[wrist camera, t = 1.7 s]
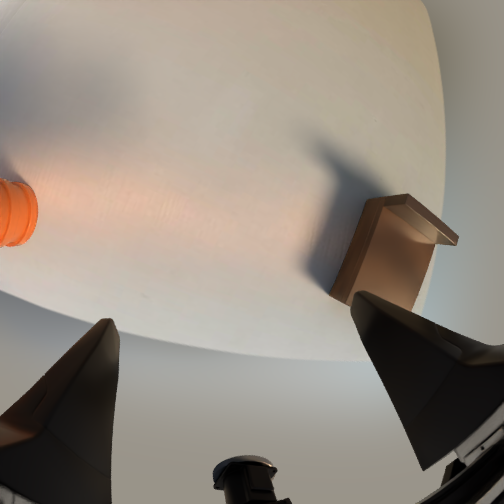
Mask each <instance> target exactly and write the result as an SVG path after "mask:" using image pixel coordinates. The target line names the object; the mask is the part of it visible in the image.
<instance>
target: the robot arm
mask: <svg viewBox="0 0 504 504" xmlns="http://www.w3.org/2000/svg"><path fill="white" fill-rule="evenodd" d="M350 312H351V316H352V318H353V321H354V323H355V325H356V328H357V330H358V333H359V335H360V338H361V341H362V343H363V345H364V347H365V349H366V351H367V353H368V355H369V357H370V359H371V361H372V363H373V365H374V367H375V369H376V371H377V372H378V374H379V377H380V378H381V381H382V382H383V385H384V386H385V389H386V391H387V393H388V395H389V397H390V399H391V401H392V403H393V405H394V407H395V409H396V412H397V414H398V416H399V418H400V420H401V422H402V424H403V427H404V429H405V431H406V434H407V436H408V438H409V440H410V443H411V445H412V447H413V450H414V452H415V454H416V457H417V459H418V461H419V464H420V466H421V468H422V470H423V471H425V470H426V469H428V468H430V467H431V466H433V465H434V464H436V463H437V462H438V461H440V460H442V459H443V458H444V457H446V456H447V455H449V454H450V453H451V452H452V451H455V453H456V454H457V456H458V458H457V459H455V460H454V461H453V462H451V463H450V464H449V465H447V466H446V469H445V473H444V476H443V480H442V483H441V487H440V488H439V489H437V490H436V491H434V492H433V493H431V494H430V495H428V496H427V497H425V498H424V499H422V500H421V501H419V502H417V503H416V504H504V344H503V345H497V346H491V345H486V344H484V343H481V342H479V341H476V340H473V339H471V338H468V337H466V336H463V335H461V334H458V333H456V332H453V331H451V330H449V329H447V328H445V327H442V326H440V325H438V324H435V323H434V322H432V321H430V320H428V319H425V318H423V317H421V316H419V315H417V314H415V313H413V312H411V311H408V310H406V309H404V308H402V307H400V306H398V305H396V304H393V303H391V302H389V301H387V300H385V299H383V298H381V297H378V296H376V295H374V294H372V293H370V292H368V291H365V290H362V291H357V292H355V293H354V296H353V300H352V304H351V308H350ZM119 348H120V337H119V334H118V331H117V329H116V326H115V324H114V321H113V320H112V319H111V318H104V319H101V320H99V321H98V322H97V323H96V324H95V325H94V326H93V327H92V328H91V329H90V330H89V331H88V332H87V333H86V334H85V335H84V336H83V337H82V338H80V340H78V342H76V343H75V344H74V345H73V346H72V347H71V348H70V349H69V350H68V351H67V352H66V353H65V354H64V355H63V356H62V357H61V358H60V359H59V360H58V361H57V362H56V363H55V364H54V365H53V366H52V367H51V368H50V369H49V370H48V371H47V372H46V373H45V376H42V377H41V378H40V380H39V381H38V382H37V383H36V384H35V385H34V386H33V387H32V388H31V389H30V390H28V391H27V392H26V394H24V395H23V396H22V397H21V398H20V399H19V400H18V401H17V402H15V403H14V404H13V405H12V406H11V407H10V408H9V409H8V410H6V411H5V412H4V413H3V414H2V415H1V416H0V504H112V498H111V480H110V479H111V454H112V453H111V451H112V435H113V421H114V411H115V401H116V392H117V384H118V374H119ZM276 472H277V468H276V467H269V466H260V465H252V464H245V463H239V462H230V463H229V464H228V465H227V467H226V468H225V470H224V471H223V473H222V474H221V475H220V477H219V478H218V480H217V481H216V482H215V484H214V489H217V490H224V493H225V499H226V504H292V503H291V501H290V499H289V498H286V499H284V500H279V501H277V499H276V496H275V493H274V487H273V484H272V481H271V478H272V477H273V476H274V475H275V474H276Z"/></svg>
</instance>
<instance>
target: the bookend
mask: <svg viewBox="0 0 504 504" xmlns="http://www.w3.org/2000/svg"><path fill="white" fill-rule="evenodd" d="M458 238H459V236H458V235H457V234H456V233H454V232H453V231H452V230H451V229H450V228H449V227H448V226H447V225H446V224H445V223H443V222H442V221H441V220H440V219H439V218H438V217H437V216H435V215H434V214H433V213H432V212H431V211H429V210H428V209H427V208H426V207H425V206H423V205H422V204H421V203H420V202H418V201H417V200H416V199H415V198H413V197H412V196H411V195H409V194H400V195H393V196H387V197H379V198H372V199H367V201H366V204H365V207H364V210H363V213H362V215H361V218H360V221H359V224H358V226H357V229H356V232H355V234H354V237H353V239H352V242H351V244H350V247H349V249H348V252H347V254H346V257H345V259H344V262H343V264H342V266H341V269H340V271H339V274H338V276H337V278H336V280H335V283H334V285H333V287H332V290H331V292H330V294H329V296H331V297H333V298H335V299H336V300H338V301H340V302H342V303H344V304H346V305H348V306H351V304H352V300H353V296H354V293H355V292H357V291H362V290H365V291H368V292H370V293H372V294H374V295H376V296H378V297H381V298H383V299H385V300H387V301H389V302H391V303H393V304H396V305H398V306H400V307H402V308H404V309H406V310H408V311H411V310H412V308H413V305H414V303H415V301H416V298H417V296H418V293H419V291H420V288H421V285H422V283H423V280H424V277H425V274H426V272H427V269H428V266H429V263H430V260H431V257H432V254H433V250H434V247H435V244H443V245H453V246H456V245H457V242H458Z"/></svg>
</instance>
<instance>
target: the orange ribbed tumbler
mask: <svg viewBox="0 0 504 504" xmlns="http://www.w3.org/2000/svg"><path fill="white" fill-rule="evenodd" d="M37 217H38V205H37V200H36V196H35V194H34V192H33V190H32V189H31V188H30V187H29V186H28V185H26V184H24V183H20V182H10V181H8V180H6V179H3V178H0V248H2V247H4V246H9V247H11V246H19V245H22V244H24V243H25V242H26V241H27V240H28V239H29V238H30V237H31V235H32V233H33V231H34V229H35V226H36V222H37Z"/></svg>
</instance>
